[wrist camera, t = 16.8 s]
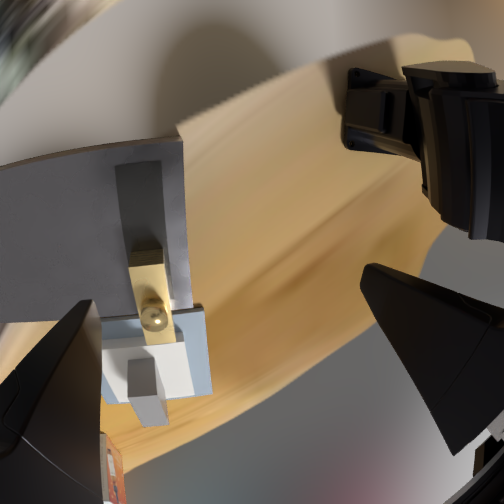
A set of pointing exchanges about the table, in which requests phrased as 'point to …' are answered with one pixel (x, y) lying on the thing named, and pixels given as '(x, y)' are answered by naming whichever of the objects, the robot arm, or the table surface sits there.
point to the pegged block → (152, 295)
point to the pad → (184, 322)
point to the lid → (147, 375)
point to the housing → (90, 228)
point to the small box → (111, 472)
